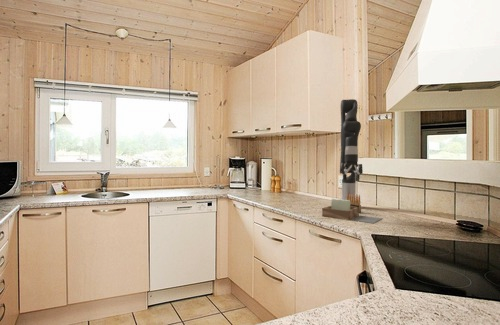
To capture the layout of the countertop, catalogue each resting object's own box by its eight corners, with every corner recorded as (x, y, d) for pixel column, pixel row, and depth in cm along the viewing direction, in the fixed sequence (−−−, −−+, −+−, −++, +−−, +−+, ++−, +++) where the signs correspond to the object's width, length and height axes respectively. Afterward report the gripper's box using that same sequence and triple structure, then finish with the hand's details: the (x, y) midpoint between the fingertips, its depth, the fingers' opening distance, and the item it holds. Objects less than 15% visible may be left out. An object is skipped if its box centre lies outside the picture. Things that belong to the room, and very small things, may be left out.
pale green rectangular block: (333, 214, 203) (333, 198, 203) (350, 216, 196) (350, 200, 196) (331, 215, 201) (331, 199, 201) (348, 217, 194) (348, 200, 194)
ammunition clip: (361, 213, 208) (361, 194, 208) (359, 213, 207) (359, 194, 207) (347, 210, 217) (347, 192, 216) (345, 211, 216) (345, 192, 215)
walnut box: (333, 212, 210) (333, 204, 210) (358, 215, 200) (358, 207, 200) (322, 216, 198) (322, 208, 198) (348, 219, 187) (348, 211, 187)
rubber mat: (360, 216, 199) (360, 215, 199) (382, 218, 191) (382, 218, 191) (350, 220, 186) (350, 219, 186) (373, 223, 178) (373, 223, 178)
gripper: (357, 155, 202) (357, 181, 202) (337, 153, 198) (337, 180, 197) (365, 154, 195) (365, 181, 194) (344, 153, 191) (344, 180, 190)
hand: (351, 180), depth 196 cm, fingers open, 8 cm apart
